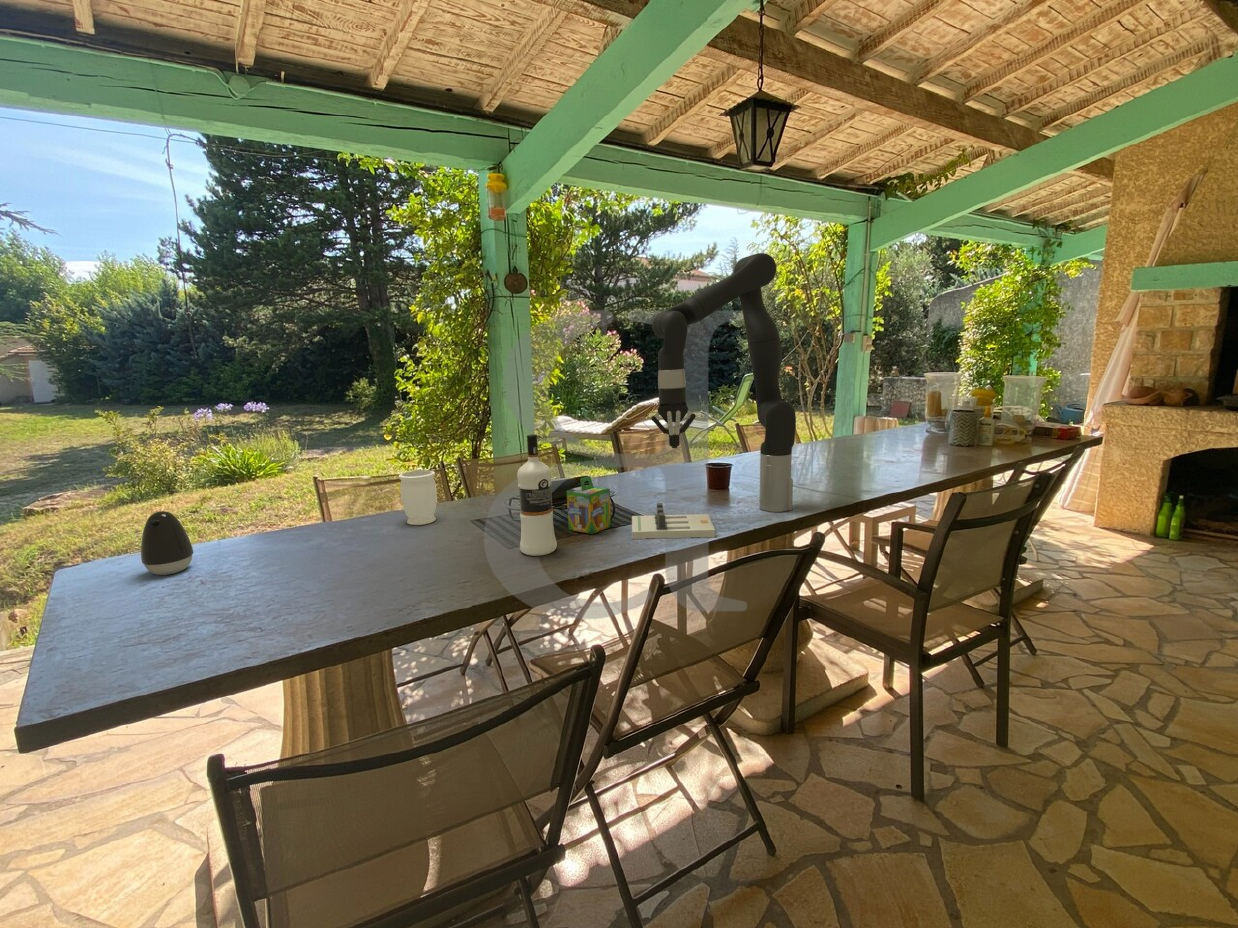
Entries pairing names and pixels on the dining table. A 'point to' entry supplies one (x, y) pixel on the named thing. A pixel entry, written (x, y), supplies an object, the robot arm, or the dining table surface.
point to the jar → (418, 496)
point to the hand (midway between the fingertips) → (674, 447)
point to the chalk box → (588, 508)
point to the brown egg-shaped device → (165, 544)
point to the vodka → (535, 504)
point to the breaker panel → (673, 527)
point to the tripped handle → (660, 510)
